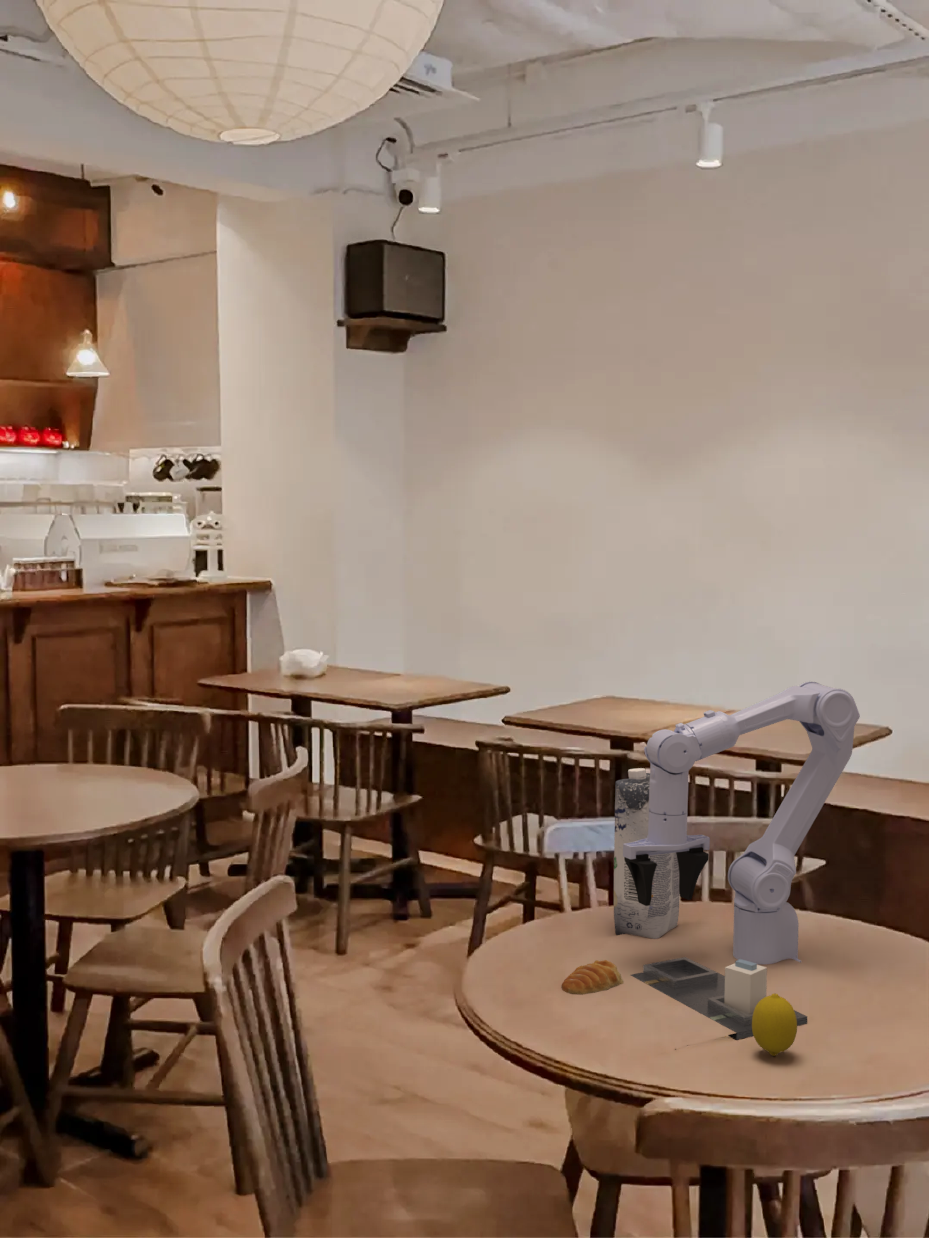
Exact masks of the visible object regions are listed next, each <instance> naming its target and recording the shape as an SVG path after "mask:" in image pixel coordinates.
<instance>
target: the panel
mask: <svg viewBox="0 0 929 1238" xmlns="http://www.w3.org/2000/svg"><path fill="white" fill-rule="evenodd" d="M642 970H643V971H642V972H638V973H632V974H630V976H631V977H632V978H634V979H637V980H639V981H640V982H641V983H644V984H646V985H648V986H650V987H651V988H653V989H655V990H656V991H659V992H661V993H662V994H664V995H666V996H667V997H670V998H672V999H673V1000H674V1001H677V1002H679V1003H680V1004H683V1005H684V1006H686V1007H688V1008H690V1009H692V1010H694V1011H695V1012H698V1013H699V1014H701V1015H703V1016H705V1017H706V1018H708V1019H710V1020H712V1021H714V1022H715V1023H718V1024H720V1025H721V1026H723V1027H725V1028H726V1029H729V1030H730V1031H732V1032H734V1033H732V1034H731V1033H730V1034H727V1036H728V1037H731V1038H732V1039H733V1040H736V1041H739V1040H742V1039H747V1038H752V1037H754V1036H753V1031H752V1017H753V1013H749V1014H743V1013H741V1012H739V1011H738V1010H736V1009H734V1008H732V1007H730V1006H728V1005H726V1004H724V997H725V974H721V973H719V972H717V971H716V970H713V969H711V968H709V967H708V966H705V965H703V964H701V963H699V962H696V961H694V960H692V959H691V958H688V957H687V956H684V957H679V958H672V959H668V960H667V959H666V960H663V961H656V962H652V963H647V964H645V963H644V964H643V969H642ZM794 1012H795V1015H796V1019H797V1027H800V1026H804V1025H807V1024H808V1016H807V1015H805V1014H803V1013H801V1012H799V1011H797V1010H795V1009H794Z"/></svg>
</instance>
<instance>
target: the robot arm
mask: <svg viewBox="0 0 929 1238" xmlns="http://www.w3.org/2000/svg"><path fill="white" fill-rule="evenodd" d="M860 718H861V717H860V712H859V709H858V707H857V703H856V701H855V699H854V697H853V695H852V694H851V693H849V691H847V690H845V689H843V688H837V687H831V686H828V685H823V684H821V683H819V682H816V681H811V680H809V681H805V682H803V683H801V684H799V685H792V686H789V687H787V688H786V689H784V690H782V691H781V692H778V693H776V694H773V695H772V696H769V697H767V698H765V699H763V700H760V701H758V702H756V703H753V704H751V705H749V706H748V707H745V708H742V709H740V710H738V711H736V712H734V713H731V714H727V713H726V712H723V711H721V710H718V711H714V710H712V709H709V710H706V711H703V716H702V717H700V718H697V719H694V720H692V721H689V722H687V723H682V722H679V723H675V728H674V730H671V729H665V728H664V729H660V730H657V731H655V732H654V733H653V734H651V737H649V738H648V740H647V742H646V746H644V747H643V750H644V755H645V758H646V760H647V761H648V762H649V764H650V766H649V768H650V769H649V770H650V772H649V773H650V784H649V819H648V835H647V838H645V839H641V840H638V841H635V842H631V843H625V844H623V857H624V860H625V862H626V864H627V866H628V868H629V870H630V872H631V875H632V877H633V880H634V884H635V887H636V891H637V896H638V902H639V903H641V904H643V905H645V906H650V903H651V896H652V882H653V877H654V873H655V869H656V866H657V863H655V862H652V861H651V859H650V858H649V856H651V855H659V854H667V853H675V852H676V855H677V859H678V866H679V893H680V896H679V898H680V897H681V898H682V899H685V900H692V899H693V895H694V891H695V888H696V885H697V881H698V880H699V876H700V874H701V873H702V871H703V868H704V867H705V865H706V864H707V863H708V861H709V858H710V856H709V855H710V854H709V853H708V852H706V851H708V850H710V844H711V838H710V837H709V836H707V835H704V834H690V835H689V834H687V833H688V803H689V802H688V801H689V771H690V770H691V769H692V768H693V766H694V765H695V762H697V761H698V762H699V761H700V760H703V759H705V758H706V759H707V758H708V757H711V756H714V755H716V754H718V753H720V752H724V751H725V750H728V749H731V748H733V747H735V746H736V744H737V742H738V739H739V737H740V736H742V735H745V734H748V733H750V732H754V731H757V730H760V729H763V728H765V727H766V728H767V727H769V726H772V725H774V724H778V723H780V722H783V721H786V720H791V721H797V722H799V723H800V724H801V726H802V727H803V729H805V731H806V733H807V736H808V740H809V743H810V745H811V751H810V753H809V755H808V756H807V759H806V760H805V762H804V763H803V765H802V766H801V769H800V770H799V772H798V774H797V776H796V778H795V779H794V780H793V783H792V784H791V786H790V788H789V790H788V791H787V793H786V795H785V796H784V798H783V800H782V802H781V804H780V805H779V807H778V809H777V811H776V813H775V814H774V816H773V818H772V819H771V820H770V823H769V824H768V826H767V828H766V829H765V831H764V833H763V835H762V836H761V837H760V838H758V839H756V840H755V841H752V842H751V843H750V844H748V846H746V847H747V848H746V849H745V851H744V852H743V853H742V854H741V855H739V856H737V858H735V859H734V860H733V861H732V863H731V864H730V866H729V867H728V872H727V880H728V883H729V886H730V888H731V889H732V890H733V891H734V899H733V934H732V935H733V938H732V945H733V946H732V947H733V948H732V955H733V958H735V959H736V960H739V959H742V960H746V961H749V962H753V963H756V964H757V965H773V964H776V963H779V962H782V961H784V960H790V959H792V960H795V962H799V963H802V960H801V959H799V924H800V923H799V918H798V914H797V912H796V910H795V908H794V906H792V904H790V903H789V902H787V901H788V899H789V897H790V895H791V887H792V886H791V885H792V882H793V880H794V877H795V875H796V873H797V868H796V862H795V855H796V853H797V852H798V850H799V848H800V846H801V845H802V843H803V841H804V840H805V838H806V836H807V834H808V833H809V831H810V829H811V827H812V825H813V824H814V822H815V820H816V818H817V817H818V815H819V813H820V812H821V810H822V808H823V806H824V805H825V802H826V801H827V799H828V797H829V796H830V794H831V792H832V791H833V788H834V787H835V785H836V783H837V782H838V780H839V778H840V777H841V774H842V773H843V771H844V769H845V768H846V767H847V766H846V765H847V764H848V763H849V761H850V759H851V758H852V757H851V756H852V754H853V747H854V735H855V727H856V725H857V723H858V721H859V719H860Z"/></svg>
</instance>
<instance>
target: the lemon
mask: <svg viewBox="0 0 929 1238" xmlns="http://www.w3.org/2000/svg"><path fill="white" fill-rule="evenodd" d="M794 1010H795V1009H794V1007H793V1006H792V1004H791V1003H790V1002H789V1001H788V1000H787V999H786V998H784V997H782V996H780V995H779V994H778V993H775V992H774V993H771V995H770V994H769V995H766V997H765V998H763V999H761V1000H760V1001H759V1002H758V1004H757V1005H756V1007H755V1009H754V1012H753V1017H752V1031H753V1036H752V1037H753V1038H754V1040H755V1042H756V1043H757V1045H758V1046H759V1047H760V1048H761V1049H763V1050H765V1051H766V1052H768V1053H769V1054H770V1055H771V1056H773V1057H776V1056H777V1055H779V1054H780V1053H782V1052H785V1051H788V1050H789V1048H791V1046H793V1044H794V1042H795V1040H796V1037H797V1031H798V1026H797V1019H796V1015H795V1012H794Z"/></svg>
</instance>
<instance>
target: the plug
mask: <svg viewBox="0 0 929 1238" xmlns="http://www.w3.org/2000/svg"><path fill="white" fill-rule="evenodd" d="M767 975H768V967H767V966H763V965H761V964H756V963H753V962H749V961H746V960H742V959H739V960H738V959H736V960H735V962H734V963H733V964H730V965H726V966H724V976H725V997H724V1004H726V1005H728V1006H730V1007H732V1008H734V1009H736V1010H738V1011H739V1012H741V1013H743V1014H749V1013H753V1012H754V1009H755V1007H756V1005H757V1004H758V1002H759V1001H760V1000H761V999H763V998H765V997H767V987H768V985H767V984H768V980H767V977H768V976H767Z"/></svg>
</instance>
